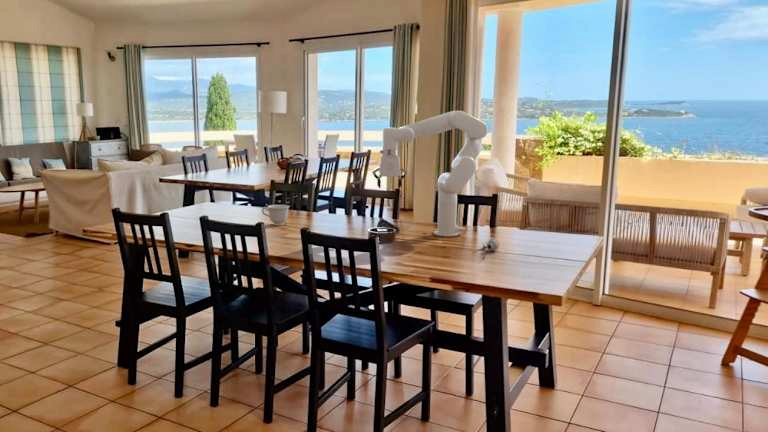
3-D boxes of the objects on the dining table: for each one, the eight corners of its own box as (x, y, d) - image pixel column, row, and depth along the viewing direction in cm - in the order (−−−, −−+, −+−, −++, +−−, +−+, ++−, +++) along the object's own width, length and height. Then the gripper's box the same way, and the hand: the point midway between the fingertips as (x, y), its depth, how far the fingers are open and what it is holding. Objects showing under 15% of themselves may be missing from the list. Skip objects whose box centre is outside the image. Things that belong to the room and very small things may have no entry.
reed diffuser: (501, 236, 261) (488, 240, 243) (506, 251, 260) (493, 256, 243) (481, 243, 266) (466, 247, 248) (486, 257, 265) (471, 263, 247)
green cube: (386, 238, 282) (386, 228, 281) (386, 240, 278) (387, 230, 277) (377, 238, 282) (377, 228, 281) (377, 240, 277) (377, 230, 277)
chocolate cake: (402, 231, 303) (387, 214, 305) (401, 230, 296) (385, 212, 298) (388, 243, 303) (373, 226, 305) (387, 242, 296) (372, 225, 298)
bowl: (394, 237, 287) (394, 227, 286) (396, 243, 274) (396, 232, 273) (367, 237, 286) (367, 227, 285) (368, 243, 273) (368, 232, 272)
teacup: (261, 222, 318) (261, 205, 317) (288, 222, 322) (288, 204, 321) (262, 227, 307) (262, 208, 305) (291, 226, 311) (290, 207, 309)
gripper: (372, 153, 278) (372, 188, 281) (408, 153, 279) (407, 188, 282) (371, 152, 285) (371, 186, 288) (406, 152, 287) (405, 187, 290)
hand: (389, 187), depth 285 cm, fingers open, 9 cm apart
